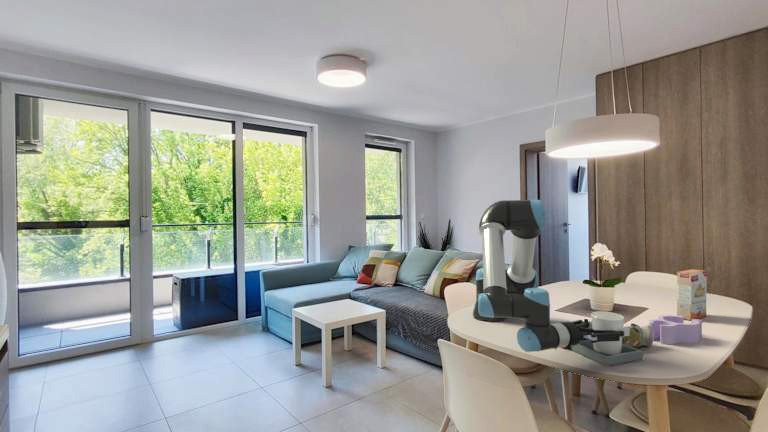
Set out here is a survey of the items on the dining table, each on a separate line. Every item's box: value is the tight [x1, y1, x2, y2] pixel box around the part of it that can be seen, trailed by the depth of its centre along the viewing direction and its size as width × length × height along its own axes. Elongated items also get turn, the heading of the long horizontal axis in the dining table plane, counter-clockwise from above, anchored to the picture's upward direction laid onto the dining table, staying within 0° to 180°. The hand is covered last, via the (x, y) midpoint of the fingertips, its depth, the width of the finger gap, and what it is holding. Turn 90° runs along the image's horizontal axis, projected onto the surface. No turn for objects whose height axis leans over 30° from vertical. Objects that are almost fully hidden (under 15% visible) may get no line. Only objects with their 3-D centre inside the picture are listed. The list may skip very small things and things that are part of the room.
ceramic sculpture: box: [622, 323, 654, 349], centre depth 139 cm, size 11×9×15 cm
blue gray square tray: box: [570, 340, 644, 368], centre depth 131 cm, size 15×15×3 cm
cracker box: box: [676, 268, 708, 321], centre depth 172 cm, size 14×6×21 cm, turn 118°
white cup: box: [590, 310, 625, 355], centre depth 132 cm, size 10×10×12 cm
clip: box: [648, 314, 703, 346], centre depth 146 cm, size 20×12×7 cm, turn 110°
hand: (616, 327), depth 132 cm, fingers closed on white cup, 9 cm apart
